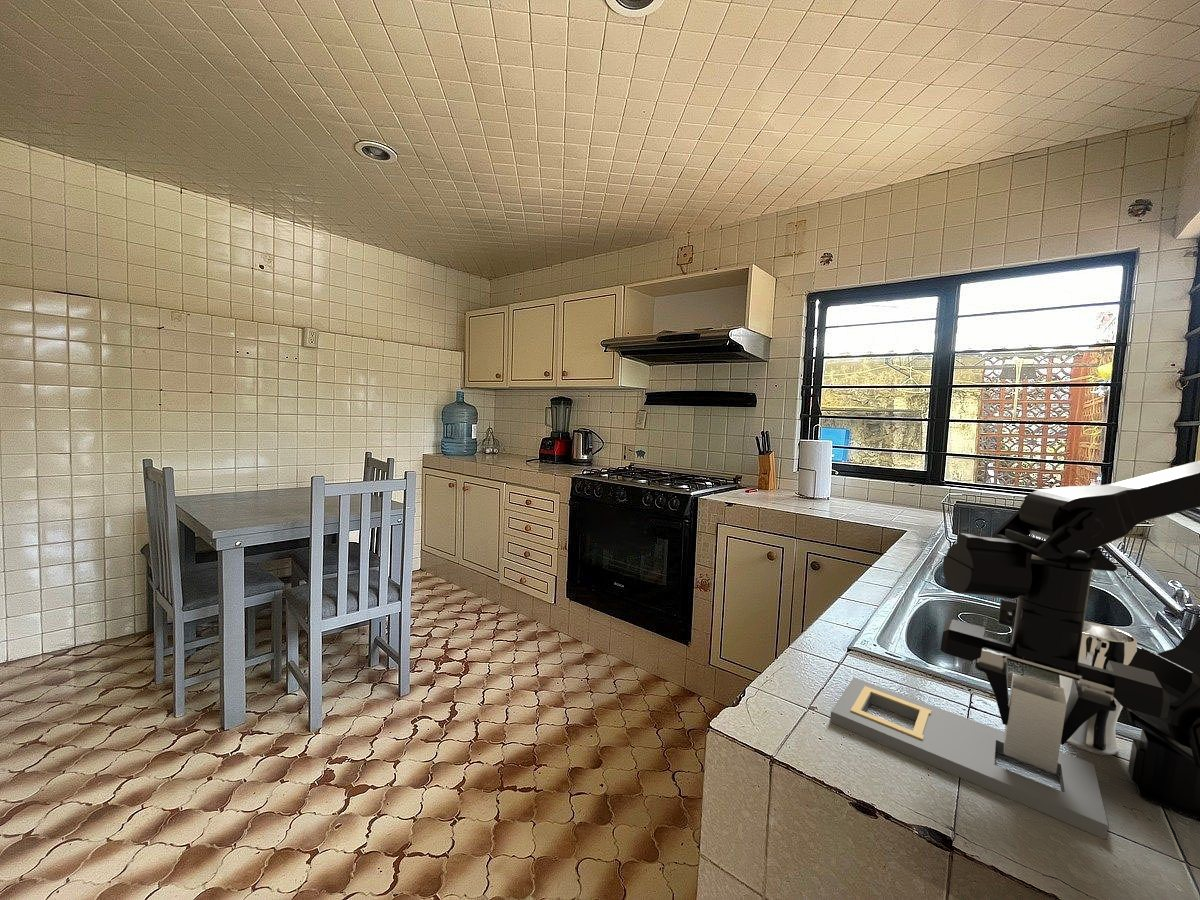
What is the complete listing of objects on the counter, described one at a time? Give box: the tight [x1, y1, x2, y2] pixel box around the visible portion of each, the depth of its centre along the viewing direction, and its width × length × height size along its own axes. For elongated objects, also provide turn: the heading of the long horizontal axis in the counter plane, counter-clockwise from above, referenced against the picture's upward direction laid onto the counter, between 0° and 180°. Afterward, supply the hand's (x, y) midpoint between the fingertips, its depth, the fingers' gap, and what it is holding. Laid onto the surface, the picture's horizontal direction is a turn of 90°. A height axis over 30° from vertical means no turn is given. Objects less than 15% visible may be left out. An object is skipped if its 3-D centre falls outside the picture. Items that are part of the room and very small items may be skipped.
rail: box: [829, 676, 1109, 840], centre depth 62 cm, size 26×12×2 cm, turn 50°
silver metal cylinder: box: [1059, 620, 1138, 756], centre depth 65 cm, size 7×7×15 cm
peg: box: [1004, 672, 1067, 775], centre depth 57 cm, size 4×4×8 cm
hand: (1031, 732), depth 58 cm, fingers closed on peg, 4 cm apart
